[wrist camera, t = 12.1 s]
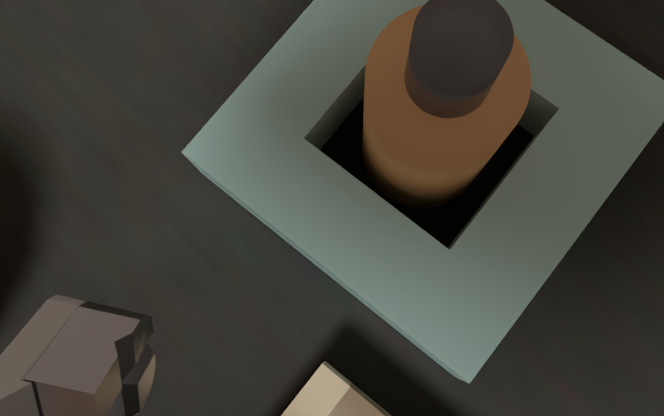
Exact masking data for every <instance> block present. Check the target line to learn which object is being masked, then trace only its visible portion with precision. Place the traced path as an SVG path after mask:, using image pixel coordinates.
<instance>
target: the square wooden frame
mask: <svg viewBox="0 0 664 416" xmlns="http://www.w3.org/2000/svg"><path fill="white" fill-rule="evenodd" d="M281 416H391V415H390V414H389V413H388V412H386V411H385V410H384V409H383V408H382V407H380V406H379V405H378V404H377V403H376V402H374V401H373V400H372V399H371V398H370V397H368V396H367V395H366V394H365V393H364V392H362V391H361V390H360V389H359V388H358V387H356V386H355V385H354V384H353V383H352V382H350V381H349V380H348V379H347V378H346V377H344V376H343V375H342V374H341V373H340V372H338V371H337V370H336V369H335V368H334V367H332V366H331V365H330V364H329V363H328V362H326V361H324V362H323V363H322V364H321V365H320V367H319V368H318V369H317V371H316V372H315V373H314V374H313V376H312V377H311V378H310V379H309V381H308V382H307V383H306V385H305V386H304V387H303V388H302V390H301V391H300V392H299V393H298V395H297V396H296V397H295V399H294V400H293V401H292V402H291V404H290V405H289V406H288V407H287V409H286V410H285V411H284V413H283V414H282V415H281Z"/></svg>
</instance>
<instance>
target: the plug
mask: <svg viewBox="0 0 664 416" xmlns="http://www.w3.org/2000/svg"><path fill="white" fill-rule="evenodd" d="M530 91H531V71H530V65H529V61H528V58H527V55H526V53H525V50H524V48H523V46H522V45H521V43H520V41H519V39H518V38H517V37H516V35H515V34H514V30H513V25H512V22H511V20H510V17H509V15H508V14H507V12H506V10H505V9H504V8H503V7H502V6H501V5H500V4H499V3H498V2H497V1H496V0H429V1H428V2H426V3H425V5H421V6H418V7H415V8H413V9H411V10H408V11H406V12H405V13H403V14H401V15H400V16H398V17H397V18H395V19H394V20H393V21H392V22H390V23H389V24H388V25H387V26H386V27H385V28H384V29H383V30H382V32H381V33H380V34H379V36H378V37H377V38H376V40H375V42H374V44H373V46H372V47H371V50H370V53H369V55H368V59H367V63H366V69H365V85H364V112H363V139H362V157H363V162H364V166H365V169H366V172H367V174H368V176H369V178H370V180H371V181H372V183H373V184H374V185H375V186H376V188H377V189H378V190H379V191H380V192H381V193H383V194H384V195H385V196H386V197H388V198H389V199H391V200H393V201H395V202H397V203H399V204H402V205H405V206H408V207H413V208H431V207H437V206H440V205H443V204H446V203H448V202H450V201H452V200H454V199H455V198H457V197H458V196H459V195H461V194H462V193H463V192H464V191H465V190H466V189H467V188H468V187H469V185H470V184H471V183H472V182H473V180H474V179H475V178H476V176H477V175H478V174H479V173H480V171H481V170H482V169H483V167H484V166H485V165H486V164H487V162H488V161H489V160H490V158H491V157H492V156H493V155H494V153H495V152H496V151H497V149H498V148H499V147H500V146H501V144H502V143H503V142H504V140H505V139H506V138H507V136H508V135H509V134H510V133H511V131H512V130H513V129H514V127H515V126H516V125H517V123H518V122H519V120H520V119H521V117H522V115H523V113H524V111H525V109H526V107H527V104H528V101H529V97H530Z"/></svg>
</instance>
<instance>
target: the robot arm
mask: <svg viewBox="0 0 664 416" xmlns="http://www.w3.org/2000/svg"><path fill="white" fill-rule="evenodd" d="M152 334H153V325H152V317H150V316H148V315H145V314H140V313H136V312H132V311H128V310H123V309H119V308H115V307H110V306H106V305H102V304H98V303H93V302H89V301H83V300H78V299H74V298H70V297H65V296H61V295H55V296H53V297H51V298H50V299H48V300H46V301H45V303H44V304H43V305H42V306H41V307H40V309H39V310H38V311H37V312H36V313H35V314H34V316H33V317H32V318H31V319H30V320H29V322H28V323H27V324H26V325H25V326H24V328H23V329H22V330H21V331H20V332H19V334H18V335H17V336H16V337H15V338H14V340H13V341H12V342H11V343H10V344H9V346H8V347H7V348H6V349H5V350H4V351H3V353H2V354H1V355H0V416H134V415H136V414H137V413H139V412H140V411H141V409H142V407H143V405H144V403H145V401H146V399H147V397H148V395H149V392H150V388H151V385H152V382H153V379H154V372H155V352H154V351H153V350H152V349H151V348H150V346H149V345H148V344H147V343H148V342H149V340H150V338H151V336H152Z"/></svg>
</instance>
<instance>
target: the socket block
mask: <svg viewBox="0 0 664 416" xmlns="http://www.w3.org/2000/svg"><path fill="white" fill-rule="evenodd" d="M428 1H429V0H314V1H313V2H312V3H311V4H310V5H309V6H308V7H307V9H306V10H305V11H304V12H303V13H302V14H301V15H300V17H299V18H298V19H297V20H296V21H295V22H294V24H293V25H292V26H291V27H290V28H289V29H288V30H287V32H286V33H285V34H284V35H283V36H282V37H281V38H280V40H279V41H278V42H277V43H276V44H275V45H274V46H273V48H272V49H271V50H270V51H269V52H268V53H267V55H266V56H265V57H264V58H263V59H262V60H261V61H260V63H259V64H258V65H257V66H256V67H255V68H254V69H253V71H252V72H251V73H250V74H249V75H248V76H247V78H246V79H245V80H244V81H243V82H242V83H241V84H240V86H239V87H238V88H237V89H236V90H235V91H234V92H233V94H232V95H231V96H230V97H229V98H228V99H227V100H226V102H225V103H224V104H223V105H222V106H221V107H220V109H219V110H218V111H217V112H216V113H215V114H214V115H213V117H212V118H211V119H210V120H209V121H208V122H207V123H206V125H205V126H204V127H203V128H202V129H201V130H200V132H199V133H198V134H197V135H196V136H195V137H194V138H193V140H192V141H191V142H190V143H189V144H188V145H187V146H186V148H185V149H184V150H183V151H182V153H183V154H184V155H185V156H186V157H187V159H188V160H189V161H190V162H191V163H192V164H193V165H194V166H195V167H196V168H197V169H198V170H199V171H200V172H201V173H202V174H203V175H204V176H206V177H207V178H208V179H209V180H211V181H212V182H213V183H214V184H216V185H217V186H218V187H219V188H221V189H222V190H223V191H224V192H226V193H227V194H228V195H229V196H231V197H232V198H233V199H234V200H235V201H237V202H238V203H239V204H240V205H242V206H243V207H244V208H245V209H247V210H248V211H249V212H250V213H252V214H253V215H254V216H255V217H257V218H258V219H259V220H260V221H262V222H263V223H264V224H265V225H267V226H268V227H269V228H270V229H272V230H273V231H274V232H275V233H277V234H278V235H279V236H280V237H281V238H283V239H284V240H285V241H286V242H288V243H289V244H290V245H291V246H293V247H294V248H295V249H296V250H298V251H299V252H300V253H301V254H303V255H304V256H305V257H306V258H308V259H309V260H310V261H311V262H313V263H314V264H315V265H316V266H318V267H319V268H320V269H321V270H322V271H324V272H325V273H326V274H327V275H329V276H330V277H331V278H332V279H334V280H335V281H336V282H337V283H339V284H340V285H341V286H342V287H344V288H345V289H346V290H347V291H349V292H350V293H351V294H352V295H354V296H355V297H356V298H357V299H359V300H360V301H361V302H362V303H364V304H365V305H366V306H367V307H368V308H370V309H371V310H372V311H373V312H375V313H376V314H377V315H378V316H380V317H381V318H382V319H383V320H385V321H386V322H387V323H388V324H390V325H391V326H392V327H393V328H395V329H396V330H397V331H398V332H400V333H401V334H402V335H403V336H405V337H406V338H407V339H408V340H410V341H411V342H412V343H413V344H414V345H416V346H417V347H418V348H419V349H421V350H422V351H423V352H424V353H426V354H427V355H428V356H429V357H431V358H432V359H433V360H434V361H436V362H437V363H438V364H439V365H441V366H442V367H443V368H444V369H446V370H447V371H448V372H449V373H451V374H452V375H453V376H454V377H456V378H458V379H461V380H463V381H465V382H467V383H469V384H470V382H471V381H472V380H473V378H474V377H475V376H476V374H477V373H478V372H479V370H480V369H481V367H482V366H483V365H484V363H485V362H486V361H487V359H488V358H489V357H490V355H491V354H492V353H493V351H494V350H495V349H496V347H497V346H498V345H499V343H500V342H501V340H502V339H503V338H504V336H505V335H506V334H507V332H508V331H509V330H510V328H511V327H512V326H513V324H514V323H515V322H516V320H517V319H518V318H519V316H520V315H521V314H522V312H523V311H524V309H525V308H526V307H527V305H528V304H529V303H530V301H531V300H532V299H533V297H534V296H535V295H536V293H537V292H538V291H539V289H540V288H541V287H542V285H543V284H544V282H545V281H546V280H547V278H548V277H549V276H550V274H551V273H552V272H553V270H554V269H555V268H556V266H557V265H558V264H559V262H560V261H561V260H562V258H563V257H564V256H565V254H566V253H567V251H568V250H569V249H570V247H571V246H572V245H573V243H574V242H575V241H576V239H577V238H578V237H579V235H580V234H581V233H582V231H583V230H584V229H585V227H586V226H587V224H588V223H589V222H590V220H591V219H592V218H593V216H594V215H595V214H596V212H597V211H598V210H599V208H600V207H601V206H602V204H603V203H604V202H605V200H606V199H607V197H608V196H609V195H610V193H611V192H612V191H613V189H614V188H615V187H616V185H617V184H618V183H619V181H620V180H621V179H622V177H623V176H624V175H625V173H626V172H627V171H628V169H629V168H630V166H631V165H632V164H633V162H634V161H635V160H636V158H637V157H638V156H639V154H640V153H641V152H642V150H643V149H644V148H645V146H646V145H647V144H648V142H649V141H650V139H651V138H652V137H653V135H654V134H655V133H656V131H657V130H658V129H659V127H660V126H661V125H662V123H663V122H664V80H662V79H661V78H659V77H658V76H657V75H655V74H654V73H652V72H651V71H649V70H648V69H646V68H645V67H643V66H642V65H640V64H639V63H637V62H636V61H634V60H633V59H631V58H630V57H628V56H627V55H625V54H624V53H622V52H621V51H619V50H618V49H616V48H615V47H613V46H612V45H610V44H609V43H607V42H606V41H604V40H603V39H601V38H600V37H598V36H597V35H595V34H594V33H592V32H591V31H589V30H588V29H586V28H585V27H583V26H582V25H580V24H579V23H577V22H576V21H574V20H573V19H571V18H570V17H568V16H567V15H565V14H564V13H562V12H561V11H559V10H558V9H556V8H555V7H553V6H552V5H550V4H549V3H547V2H546V1H544V0H496V1H497V2H498V3H499V4H500V5H501V6H502V7H503V8H504V9H505V10H506V12H507V14H508V15H509V17H510V20H511V22H512V25H513V30H514V34H515V35H516V37H517V38H518V39H519V41H520V43H521V45H522V46H523V48H524V50H525V53H526V55H527V58H528V61H529V65H530V71H531V91H530V97H529V101H528V104H527V107H526V109H525V111H524V113H523V115H522V117H521V119H520V120H519V122H518V123H517V124H518V125H519V126H521V127H522V128H524V129H525V130H526V131H528V132H529V133H531V134H532V135H533V136H534V137H533V138H532V140H531V141H530V142H529V143H528V145H527V146H526V147H525V149H524V150H523V151H522V153H521V154H520V155H519V156H518V158H517V159H516V160H515V162H514V163H513V164H512V165H511V167H510V168H509V169H508V171H507V172H506V173H505V174H504V176H503V177H502V178H501V180H500V181H499V182H498V183H497V185H496V186H495V187H494V189H493V190H492V191H491V193H490V194H489V195H488V196H487V198H486V199H485V200H484V202H483V203H482V204H481V205H480V207H479V208H478V209H477V211H476V212H475V213H474V214H473V216H472V217H471V218H470V220H469V221H468V222H467V223H466V225H465V226H464V227H463V229H462V230H461V231H460V233H459V234H458V235H457V236H456V238H455V239H454V240H453V242H452V243H451V244H450V245H449V247H448V248H447V247H445V246H444V245H443V244H441V243H440V242H439V241H437V240H436V239H435V238H433V237H432V236H431V235H430V234H428V233H427V232H426V231H424V230H423V229H422V228H420V227H419V226H418V225H417V224H415V223H414V222H413V221H411V220H410V219H409V218H407V217H406V216H405V215H403V214H402V213H401V212H400V211H398V210H397V209H396V208H394V207H393V206H392V205H390V204H389V203H388V202H386V201H385V200H384V199H383V198H381V197H380V196H379V195H377V194H376V193H375V192H373V191H372V190H371V189H370V188H368V187H367V186H366V185H364V184H363V183H362V182H360V181H359V180H358V179H356V178H355V177H354V176H353V175H351V174H350V173H349V172H347V171H346V170H345V169H343V168H342V167H341V166H340V165H338V164H337V163H336V162H334V161H333V160H332V159H330V158H329V157H328V156H326V155H325V154H324V153H323V152H321V151H320V150H321V148H322V147H323V146H324V145H325V144H326V142H327V141H328V140H329V139H330V138H331V136H332V135H333V134H334V133H335V132H336V130H337V129H338V128H339V127H340V125H341V124H342V123H343V122H344V121H345V119H346V118H347V117H348V116H349V115H350V113H351V112H352V111H353V110H354V109H355V107H356V106H357V105H358V104H359V103H360V101H361V100H362V99H363V98H364V85H365V69H366V63H367V59H368V55H369V53H370V50H371V47H372V46H373V44H374V42H375V40H376V38H377V37H378V36H379V34H380V33H381V32H382V30H383V29H384V28H385V27H386V26H387V25H388V24H389V23H390V22H392V21H393V20H394V19H395V18H397V17H398V16H400V15H401V14H403V13H405V12H406V11H408V10H411V9H413V8H415V7H418V6H421V5H425V3H426V2H428Z"/></svg>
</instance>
